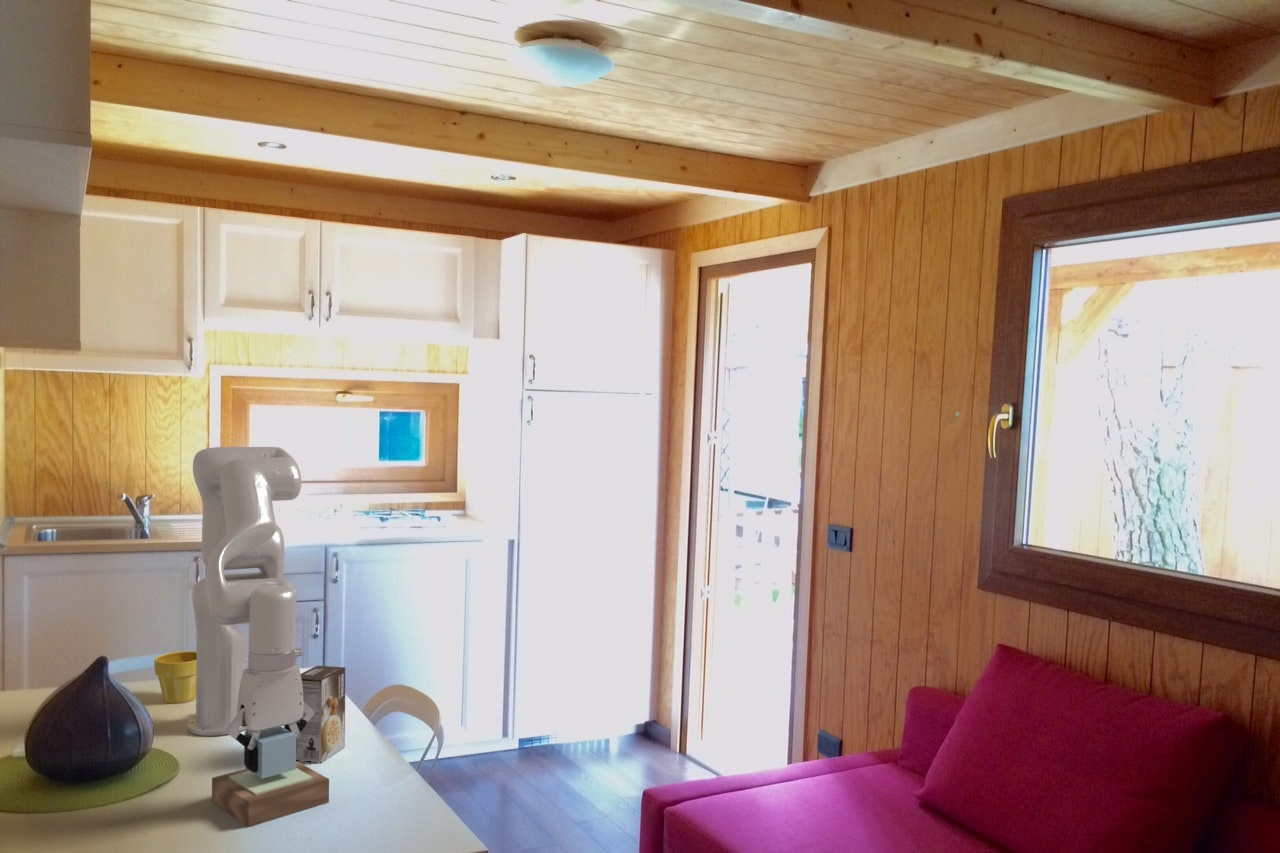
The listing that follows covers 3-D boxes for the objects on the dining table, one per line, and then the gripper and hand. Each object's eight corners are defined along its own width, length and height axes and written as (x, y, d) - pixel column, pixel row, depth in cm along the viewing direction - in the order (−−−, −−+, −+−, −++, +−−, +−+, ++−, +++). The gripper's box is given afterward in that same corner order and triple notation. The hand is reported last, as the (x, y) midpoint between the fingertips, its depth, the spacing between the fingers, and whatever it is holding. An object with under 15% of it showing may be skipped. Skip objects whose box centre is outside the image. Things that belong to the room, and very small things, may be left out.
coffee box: (316, 744, 194) (317, 664, 194) (345, 747, 193) (346, 666, 193) (290, 760, 185) (291, 676, 185) (321, 764, 184) (322, 679, 184)
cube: (245, 768, 166) (246, 733, 166) (279, 759, 171) (279, 725, 171) (261, 778, 162) (262, 743, 162) (295, 769, 167) (296, 734, 167)
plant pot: (152, 708, 214) (152, 664, 214) (155, 695, 223) (155, 652, 223) (204, 703, 218) (204, 660, 218) (205, 690, 228) (205, 649, 227)
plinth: (211, 800, 166) (212, 775, 166) (289, 779, 177) (290, 755, 176) (248, 826, 157) (249, 800, 157) (328, 802, 167) (329, 777, 167)
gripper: (308, 647, 175) (307, 747, 175) (211, 664, 162) (210, 772, 163) (329, 655, 170) (328, 758, 170) (231, 674, 157) (230, 785, 158)
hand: (270, 763), depth 167 cm, fingers closed on cube, 5 cm apart
